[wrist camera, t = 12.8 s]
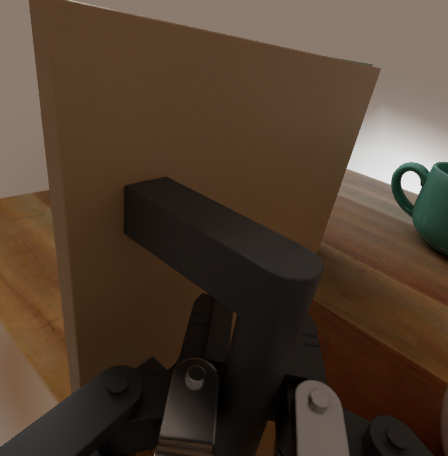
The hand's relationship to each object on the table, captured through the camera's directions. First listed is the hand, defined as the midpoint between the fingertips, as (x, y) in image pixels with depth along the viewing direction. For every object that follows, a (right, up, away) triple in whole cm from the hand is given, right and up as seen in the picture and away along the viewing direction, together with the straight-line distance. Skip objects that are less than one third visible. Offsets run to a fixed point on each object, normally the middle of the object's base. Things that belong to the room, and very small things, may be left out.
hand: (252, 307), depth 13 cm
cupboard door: (+1, -7, +8) cm, 11 cm away
